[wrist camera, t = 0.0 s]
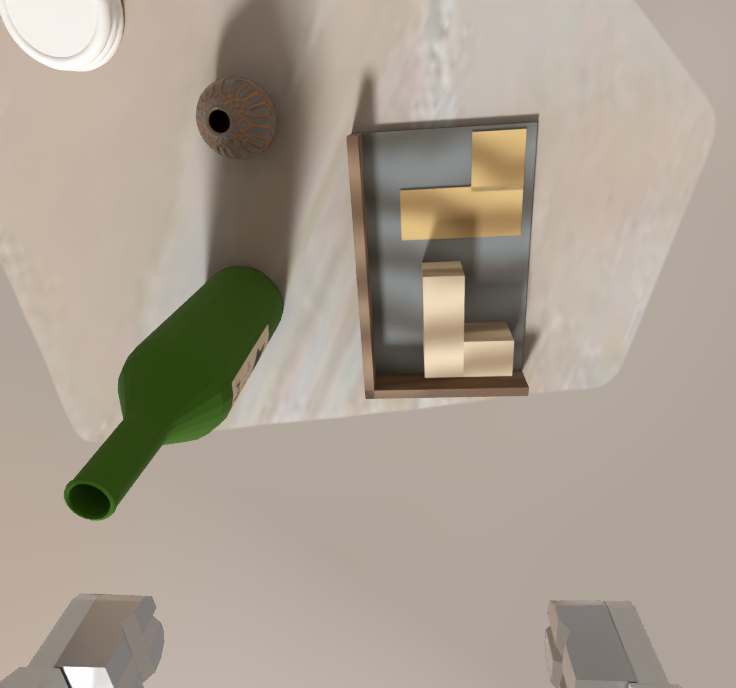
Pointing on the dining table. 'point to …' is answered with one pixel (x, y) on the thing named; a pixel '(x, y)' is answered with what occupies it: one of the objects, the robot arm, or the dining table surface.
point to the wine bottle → (180, 382)
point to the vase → (236, 118)
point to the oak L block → (459, 329)
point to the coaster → (65, 30)
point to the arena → (439, 244)
